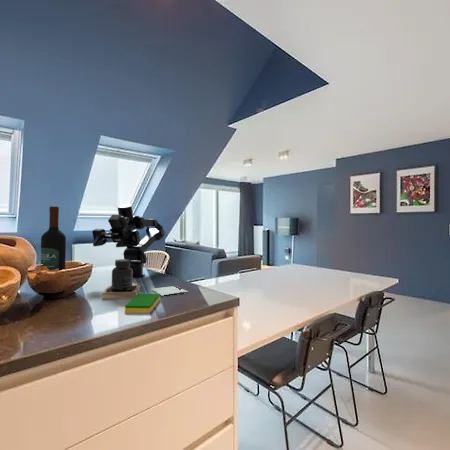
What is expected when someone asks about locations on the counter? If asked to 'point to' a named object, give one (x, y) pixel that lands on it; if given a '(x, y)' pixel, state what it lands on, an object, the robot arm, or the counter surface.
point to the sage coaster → (167, 290)
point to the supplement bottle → (122, 276)
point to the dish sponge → (142, 303)
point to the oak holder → (120, 293)
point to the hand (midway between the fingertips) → (104, 245)
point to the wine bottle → (53, 244)
